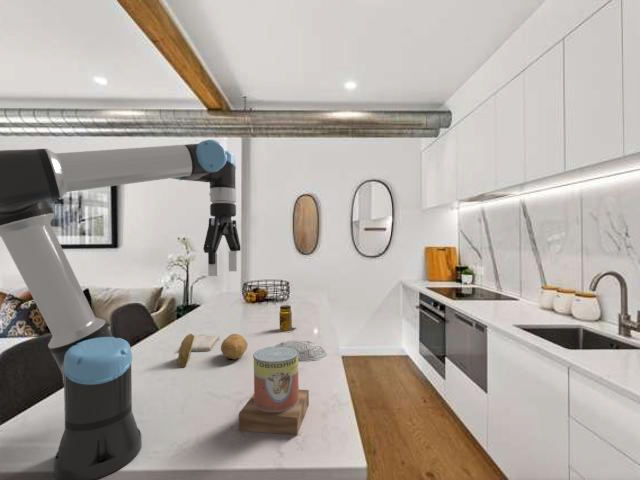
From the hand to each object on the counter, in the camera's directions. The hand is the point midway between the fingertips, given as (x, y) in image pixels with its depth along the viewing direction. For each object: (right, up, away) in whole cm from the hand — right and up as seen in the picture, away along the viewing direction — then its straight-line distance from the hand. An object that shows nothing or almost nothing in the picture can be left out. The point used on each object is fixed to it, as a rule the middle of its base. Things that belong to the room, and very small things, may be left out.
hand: (224, 273), depth 101 cm
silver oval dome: (+20, -35, +29) cm, 50 cm away
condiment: (+13, -35, +65) cm, 75 cm away
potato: (-4, -35, +26) cm, 44 cm away
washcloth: (-22, -36, +42) cm, 60 cm away
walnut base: (+18, -35, -17) cm, 42 cm away
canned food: (+18, -31, -17) cm, 39 cm away
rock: (-21, -35, +22) cm, 47 cm away
